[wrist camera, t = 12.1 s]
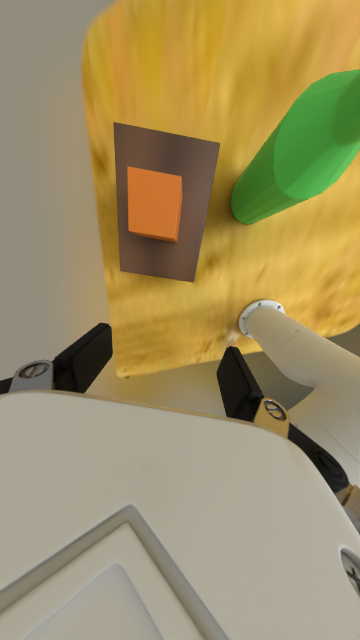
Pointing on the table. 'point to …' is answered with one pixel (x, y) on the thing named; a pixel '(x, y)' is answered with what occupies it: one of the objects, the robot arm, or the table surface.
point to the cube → (154, 204)
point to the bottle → (303, 150)
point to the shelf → (197, 178)
